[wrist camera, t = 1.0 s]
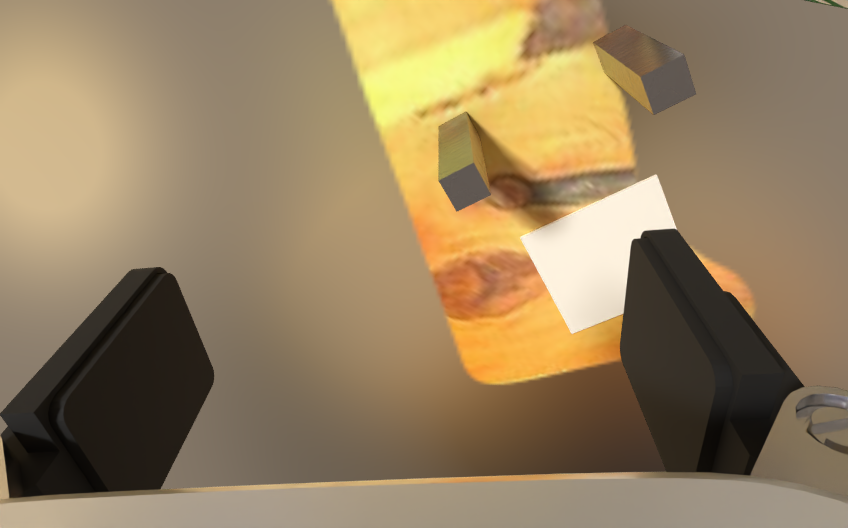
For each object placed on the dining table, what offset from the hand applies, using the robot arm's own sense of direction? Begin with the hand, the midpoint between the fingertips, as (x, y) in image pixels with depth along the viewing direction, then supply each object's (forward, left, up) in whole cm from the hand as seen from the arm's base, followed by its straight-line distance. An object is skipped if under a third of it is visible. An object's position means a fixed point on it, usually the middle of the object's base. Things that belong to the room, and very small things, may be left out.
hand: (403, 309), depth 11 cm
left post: (0, +5, -26) cm, 26 cm away
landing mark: (-5, +19, -26) cm, 32 cm away
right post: (-10, +5, -26) cm, 28 cm away
